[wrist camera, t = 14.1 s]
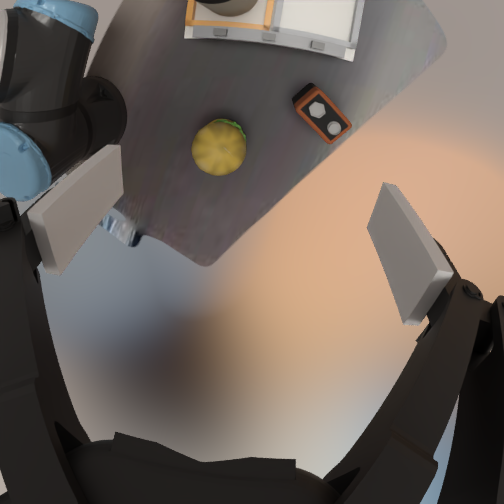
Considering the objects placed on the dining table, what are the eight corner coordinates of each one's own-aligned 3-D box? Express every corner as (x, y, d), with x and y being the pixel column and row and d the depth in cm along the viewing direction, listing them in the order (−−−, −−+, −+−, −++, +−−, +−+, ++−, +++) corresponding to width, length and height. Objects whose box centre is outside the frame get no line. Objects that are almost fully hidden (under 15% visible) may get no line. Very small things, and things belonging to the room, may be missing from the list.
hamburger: (194, 132, 46) (173, 157, 37) (226, 102, 43) (212, 119, 34) (227, 163, 50) (215, 196, 40) (260, 136, 46) (255, 162, 37)
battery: (310, 81, 40) (320, 88, 32) (340, 112, 43) (355, 128, 35) (290, 99, 42) (294, 111, 34) (320, 129, 45) (330, 148, 37)
